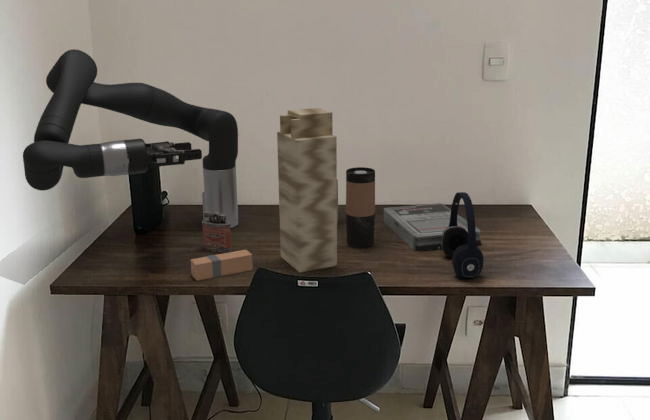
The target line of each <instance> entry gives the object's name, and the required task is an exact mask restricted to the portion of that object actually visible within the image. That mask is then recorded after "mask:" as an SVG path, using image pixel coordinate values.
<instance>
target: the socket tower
mask: <svg viewBox="0 0 650 420" xmlns="http://www.w3.org/2000/svg"><path fill="white" fill-rule="evenodd" d="M279 127H280V129H279V130H280V131H277V132H276V135H277V136H276V138H277V141H276V143H277V144H276V145H277V171H278V172H277V174H278V176H277V178H278V206H279V208H278V209H279V237H280V238H279V239H280V240H279V242H280V243H279V244H280V257H281V258H282V259H283V260H284V261H286V263H288V264H289V265H290V266H291V267H293V268H294V269H295V270H296V271H297V272H298V273H304V272H305V273H306V272H311V271H315V270H316V271H317V270H321V269H326V268H330V267H337V266H338V224H337V180H338V178H337V177H338V175H337V170H338V169H337V168H338V167H337V161H338V160H337V155H338V154H337V136H336V135H334V134H333V112H332V111H328V110H326V109H322V108H320V107H315V108H304V109H303V108H301V109H293V110H292V109H291V110H287V114H281V115H279Z"/></svg>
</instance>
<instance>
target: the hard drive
mask: <svg viewBox="0 0 650 420" xmlns="http://www.w3.org/2000/svg"><path fill="white" fill-rule="evenodd" d="M450 215H451V208H450V207H448V206H446V205H445V204H444V203H439V202H438V203H427V204H413V205H401V206H389V207H383V223H384V224H385V226H387V227H388V228H389V229H390V230H391V231H392V232H394V234H396V235H397V236H398V237H399V238H400V239H401V240H402V241H403V242H404V243H405V244H406V243H407V244H408V245H409V246H408V247H410V249H411V250H412V251H414V252H416V251H419V252H427V251H428V250H429V251H436V250H437V249H439V250H442V247H441V237H442V233H443V231H444V230H445V229H446V228H447V227H449V223H450ZM457 225H458V226H460V227H463V228H464V229H465V230H466V231H467V232H468V227H467V219H465V218H464V217H463V216H461V215H459V214H458V215H457ZM475 228H476V246H477V247H478V246H481V245H482V240H481V229H480V228H479V227H477V226H475ZM407 244H406V245H407ZM416 253H417V252H416Z"/></svg>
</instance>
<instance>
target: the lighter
mask: <svg viewBox="0 0 650 420" xmlns="http://www.w3.org/2000/svg"><path fill="white" fill-rule="evenodd" d="M204 217H205V218H209V220H204V219H203V220H201V225H202V238H203V245H202V247H203V248H202V249H203V250H204V249H205V251H209V250H211V251H210V252H216V251H217V253H230V252H233V247H232V234H231V228H230V226H231V222H228V221H226V215H225V214H220V212H217V213H211V212H205V213H204ZM212 218H213V220H212Z"/></svg>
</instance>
